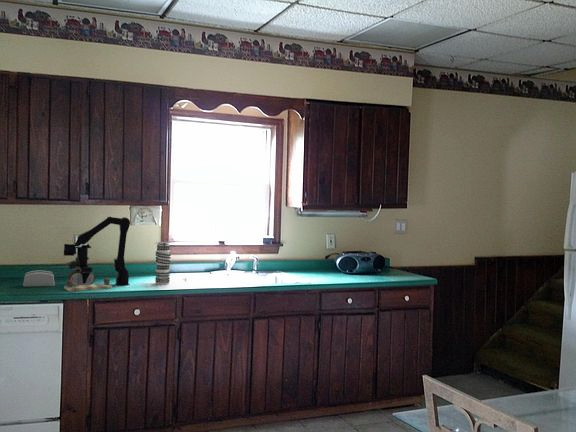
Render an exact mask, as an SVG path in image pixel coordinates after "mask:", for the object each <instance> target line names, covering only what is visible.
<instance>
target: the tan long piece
mask: <svg viewBox="0 0 576 432" xmlns="http://www.w3.org/2000/svg"><path fill="white" fill-rule="evenodd" d="M103 281H104V282H103V283H92V284H90V285H74V286H73V285H72V283H73V280H68V279H67V280H66V281H65V284H66V285H64V286H63V287H64V288H63V289H64V290H66V291H68V292H79V291H93V290H95V291H96V290H110V289H113V286H112V285H111V284H110V281H111V278H110V277H105V278H103Z"/></svg>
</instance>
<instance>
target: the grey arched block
mask: <svg viewBox="0 0 576 432" xmlns="http://www.w3.org/2000/svg"><path fill="white" fill-rule="evenodd" d="M22 286H23V287H52V286H55V275H54V273H53V272H52V271H50V270H48V271H47V270H42V269H41V270H39V269H38V270H37V269H36V270H31V271H29V272H25V274H24V277H23V283H22Z"/></svg>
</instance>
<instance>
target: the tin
mask: <svg viewBox="0 0 576 432" xmlns="http://www.w3.org/2000/svg"><path fill="white" fill-rule="evenodd" d="M95 275H96V274H94V272H93V271H92V272H91V273H90V275H89V277H88V279H87V281H86V283H85V284H83V280H82V274H81V273H80V271H74V270H73V271H72V272H71V273H70V274H68V278H67V280H73V283H72V286H74V285H90V284H94V283H95V280H96V276H95Z"/></svg>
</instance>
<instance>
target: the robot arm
mask: <svg viewBox="0 0 576 432" xmlns="http://www.w3.org/2000/svg"><path fill="white" fill-rule="evenodd" d="M112 224H113V225H117V226H118V227H119V238H118V239H119V240H118V249H117V255H116V258H113V264H112V267H113V269H114V270H115V271H116V272H117V273H116V276H115V285H117V286H129V285H130V283H129V277H130V276H129V275H130V274H129V270H128V269H127V268H126V266H125V265H126V264H125V262H126V261H125V252H126V251H125V250H126V241H127V235H128V231H129V228H130V226H131V221H130V219H129V218H128V217H125V216H123V217H113V216H107V217H106V218H104V220H102V221H101V222H99V223H97V225H95V226H94V227H92V228H90V229H89V230H87V231H84V232H83V233H80V234H79V235H78V236H77V240H76V241H75V242H74V243H64V246H63V248H64V249H63V256H64V257H70V256H71V257H72V256H73V257H74V256H75V255H77V256H76V257H75V259H74V260H72V261H69V262H67V263H66V267H67V269H69V270H72V269H73V272H74V271H80V273H81V274H82V280H83V284H85V283H86V281H87V279H88V277H89V275H90V273H91V272H92V273H93V267H92V266H90V265H89V264H88V260H90V259H89V257H88V256H89V255H88V254H89V250H88V249H91V248H92V246H91V245H90V244H89V243H88V242H89V241H90V240H91V239H92V238H93V237H94V236H95V235H97V234H98V233H99V232H101V231H103V230H104V229H105V228H107V227H108V226H110V225H112Z"/></svg>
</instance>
